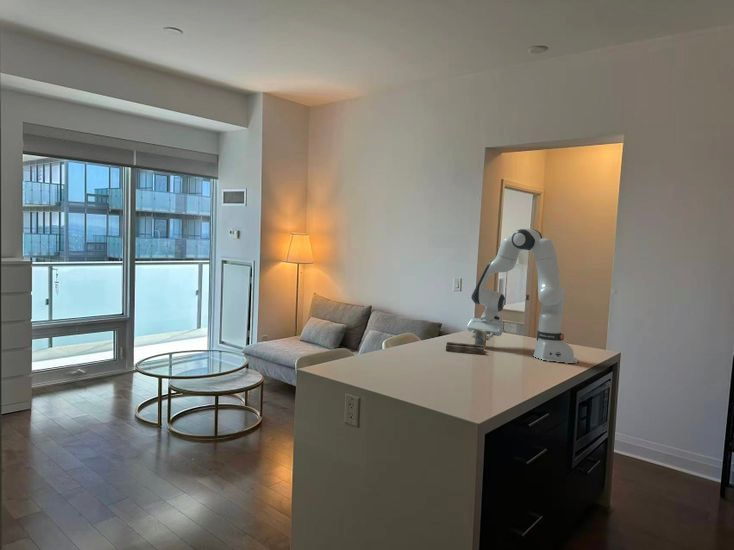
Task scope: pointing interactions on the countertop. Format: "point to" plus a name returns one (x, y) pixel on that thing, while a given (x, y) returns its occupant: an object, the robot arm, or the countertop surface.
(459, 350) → the bridge
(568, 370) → the countertop surface
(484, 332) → the wooden block
